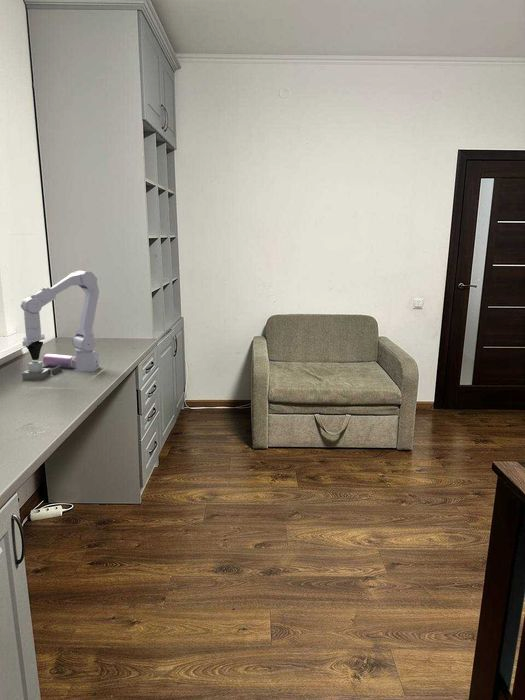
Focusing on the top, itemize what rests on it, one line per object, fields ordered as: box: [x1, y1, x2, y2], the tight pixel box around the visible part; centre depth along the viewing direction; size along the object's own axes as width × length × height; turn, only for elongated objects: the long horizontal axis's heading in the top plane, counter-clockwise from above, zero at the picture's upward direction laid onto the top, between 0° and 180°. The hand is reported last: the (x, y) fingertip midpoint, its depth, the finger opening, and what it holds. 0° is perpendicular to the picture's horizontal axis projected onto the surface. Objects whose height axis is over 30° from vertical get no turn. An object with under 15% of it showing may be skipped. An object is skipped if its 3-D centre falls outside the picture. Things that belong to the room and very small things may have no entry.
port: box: [21, 367, 52, 381], centre depth 201 cm, size 8×8×4 cm
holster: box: [42, 365, 62, 376], centre depth 209 cm, size 7×7×3 cm
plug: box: [27, 360, 44, 373], centre depth 200 cm, size 4×4×7 cm
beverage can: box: [41, 353, 76, 370], centre depth 218 cm, size 6×6×15 cm
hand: (35, 359), depth 199 cm, fingers closed
